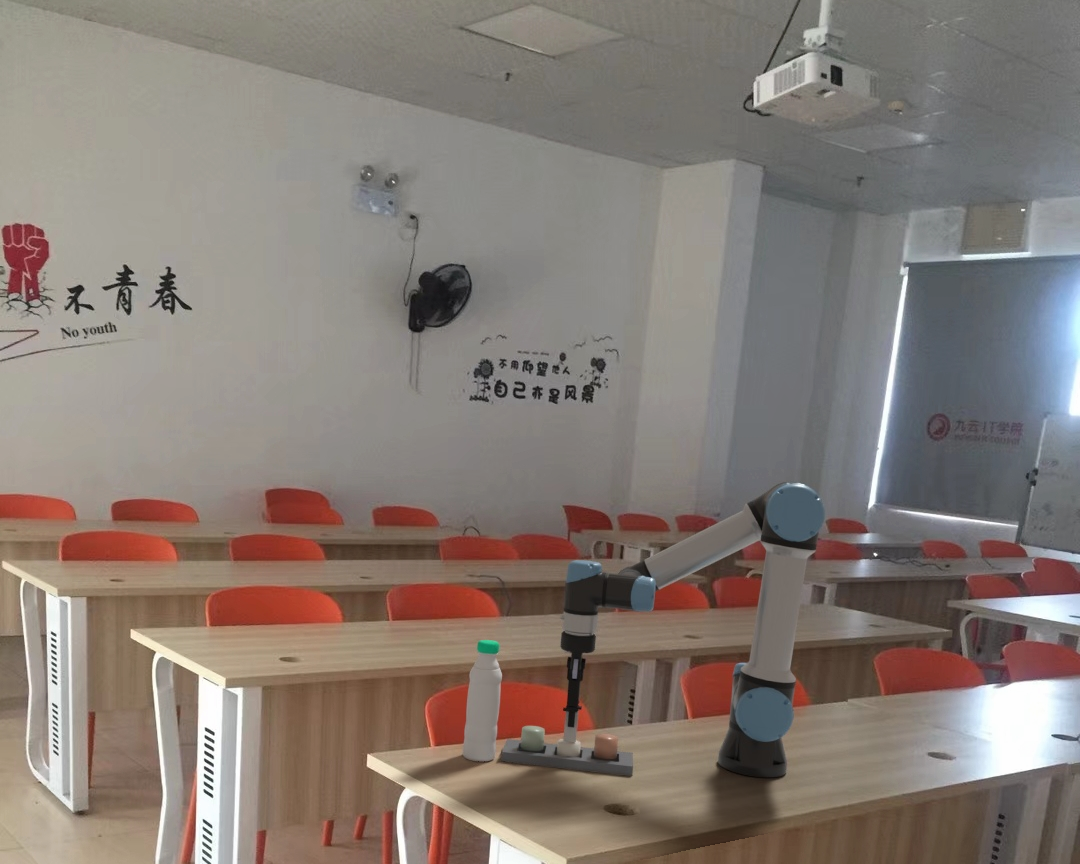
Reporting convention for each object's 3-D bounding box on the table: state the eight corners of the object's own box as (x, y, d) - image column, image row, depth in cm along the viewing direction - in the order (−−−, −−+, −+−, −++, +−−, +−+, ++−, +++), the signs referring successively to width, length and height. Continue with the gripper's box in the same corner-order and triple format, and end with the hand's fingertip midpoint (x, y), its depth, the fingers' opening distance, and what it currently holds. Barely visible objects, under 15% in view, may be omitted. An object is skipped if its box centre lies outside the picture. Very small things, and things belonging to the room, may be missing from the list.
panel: (631, 761, 234) (632, 752, 234) (632, 775, 224) (633, 766, 224) (506, 747, 236) (507, 738, 236) (501, 761, 226) (501, 751, 226)
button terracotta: (616, 753, 232) (618, 735, 232) (616, 760, 227) (618, 741, 227) (594, 750, 232) (595, 732, 232) (593, 757, 227) (595, 739, 227)
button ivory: (579, 758, 232) (581, 740, 232) (578, 765, 227) (580, 746, 227) (556, 755, 233) (558, 737, 233) (555, 762, 228) (557, 744, 228)
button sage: (544, 745, 233) (545, 727, 233) (542, 751, 228) (544, 733, 228) (521, 742, 233) (523, 724, 233) (519, 749, 228) (521, 730, 228)
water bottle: (490, 764, 223) (501, 646, 223) (458, 759, 225) (468, 642, 225) (498, 755, 230) (508, 640, 230) (466, 750, 232) (476, 636, 232)
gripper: (563, 625, 237) (554, 730, 237) (559, 635, 224) (550, 747, 224) (596, 628, 236) (587, 734, 236) (595, 639, 223) (585, 751, 223)
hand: (569, 740), depth 230 cm, fingers closed
